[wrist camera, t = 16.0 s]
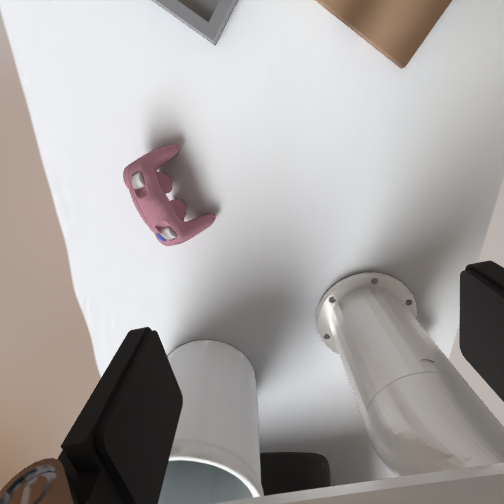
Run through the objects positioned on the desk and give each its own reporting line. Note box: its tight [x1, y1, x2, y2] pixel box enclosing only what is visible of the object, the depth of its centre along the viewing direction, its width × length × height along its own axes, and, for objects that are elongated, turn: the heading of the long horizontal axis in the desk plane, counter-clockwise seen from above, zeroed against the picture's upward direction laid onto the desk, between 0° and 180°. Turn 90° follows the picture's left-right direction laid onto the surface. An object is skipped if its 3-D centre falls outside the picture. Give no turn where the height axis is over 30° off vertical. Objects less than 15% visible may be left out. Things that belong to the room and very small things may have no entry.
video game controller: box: [123, 145, 215, 246], centre depth 35 cm, size 10×5×7 cm, turn 25°
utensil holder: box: [158, 340, 264, 504], centre depth 39 cm, size 15×15×18 cm
